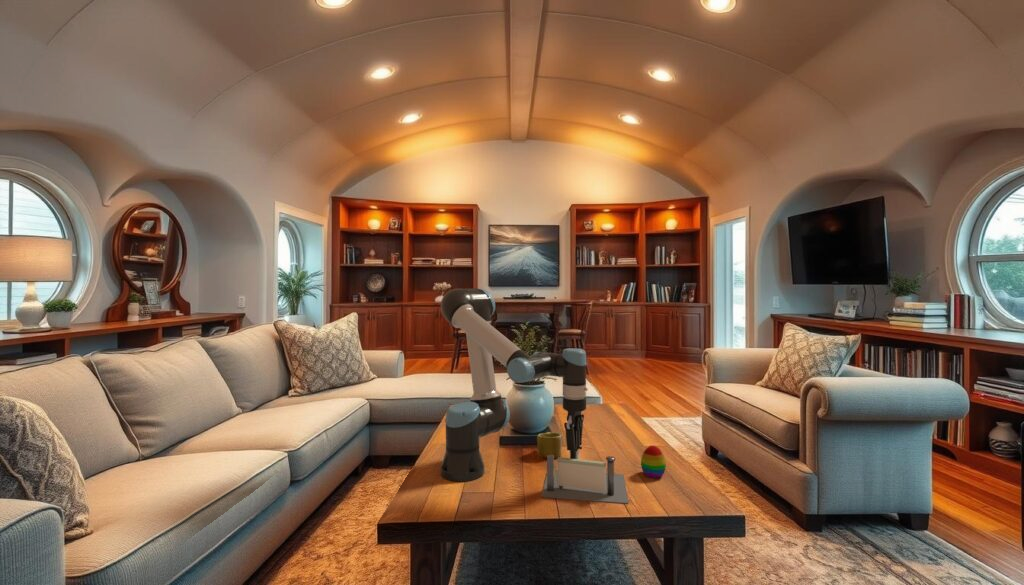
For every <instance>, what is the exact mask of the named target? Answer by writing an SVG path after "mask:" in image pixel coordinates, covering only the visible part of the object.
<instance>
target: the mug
mask: <svg viewBox="0 0 1024 585" xmlns="http://www.w3.org/2000/svg"><path fill="white" fill-rule="evenodd" d="M562 439H563V438H562V434H560V433H557V432H551V431H547V432H545V433H544V432H543V433H539V434H538V435H537V436H536V442H537V450H538V455H539V457H540V458H542V459H547V456H548V455H554V459H557V458H558V457H561V456H562Z"/></svg>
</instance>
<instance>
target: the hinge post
mask: <svg viewBox="0 0 1024 585" xmlns="http://www.w3.org/2000/svg"><path fill="white" fill-rule="evenodd" d="M605 461H607V464H606V466H607V469H606V470H607V471H606V473H607V495H609V496H613V495H614V474H615V461H616V457H615V456H606V457H605Z"/></svg>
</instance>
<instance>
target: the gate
mask: <svg viewBox="0 0 1024 585" xmlns="http://www.w3.org/2000/svg"><path fill="white" fill-rule="evenodd" d="M556 459H557V461H556V462H557V464H556V470H557V486H559V487H560V488H563V486H564V487H572V488H580V489H588V490H596V491H604V492H605V490H606V473H607V471H606V470H607V469H606V466H607V464H606V461H597V460H588V459H580V458H579V459H571V458H570V457H569V458H568V457H561V456H560V457H557V458H556Z"/></svg>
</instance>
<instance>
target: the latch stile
mask: <svg viewBox="0 0 1024 585" xmlns="http://www.w3.org/2000/svg"><path fill="white" fill-rule="evenodd" d="M556 470H557V464H555V458H554V455H548V456H547V458H546V476H547V491H554V476H555V475H556Z"/></svg>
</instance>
